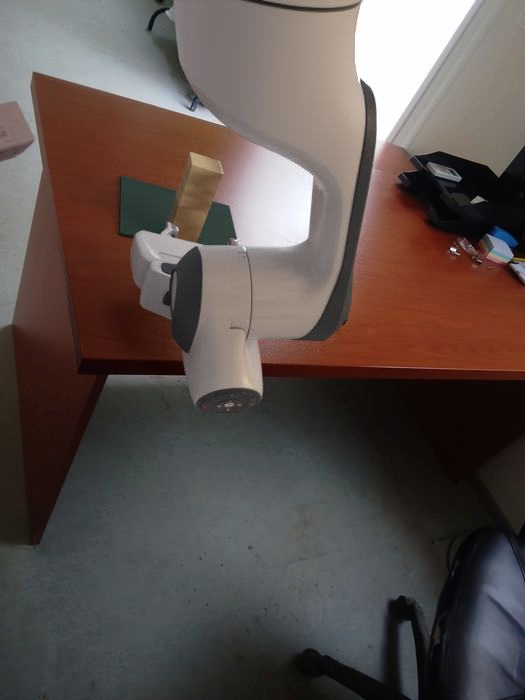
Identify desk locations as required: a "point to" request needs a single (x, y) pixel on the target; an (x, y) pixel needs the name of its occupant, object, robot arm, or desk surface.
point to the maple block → (195, 195)
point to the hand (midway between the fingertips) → (202, 234)
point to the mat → (166, 212)
